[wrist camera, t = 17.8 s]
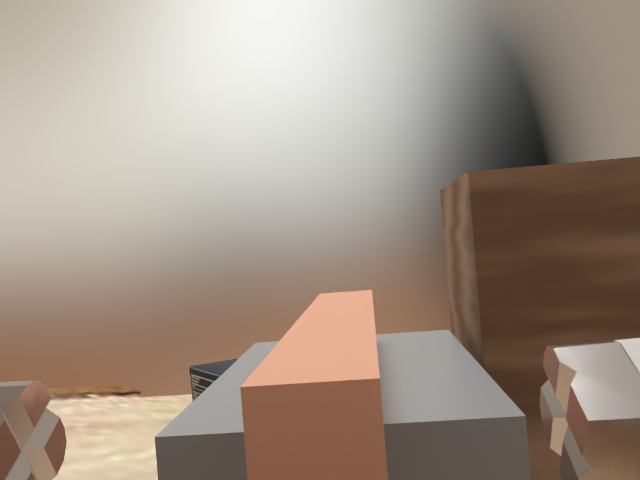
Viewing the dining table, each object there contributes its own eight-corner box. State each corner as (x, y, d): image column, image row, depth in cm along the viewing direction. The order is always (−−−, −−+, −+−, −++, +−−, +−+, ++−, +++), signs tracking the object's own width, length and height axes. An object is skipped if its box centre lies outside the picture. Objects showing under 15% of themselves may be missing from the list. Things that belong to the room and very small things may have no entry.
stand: (751, 665, 30) (708, 150, 30) (509, 670, 31) (468, 172, 31) (642, 544, 42) (612, 175, 42) (469, 551, 43) (440, 190, 43)
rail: (391, 520, 13) (379, 378, 13) (251, 525, 13) (240, 386, 13) (375, 342, 35) (371, 290, 35) (324, 345, 35) (320, 293, 35)
